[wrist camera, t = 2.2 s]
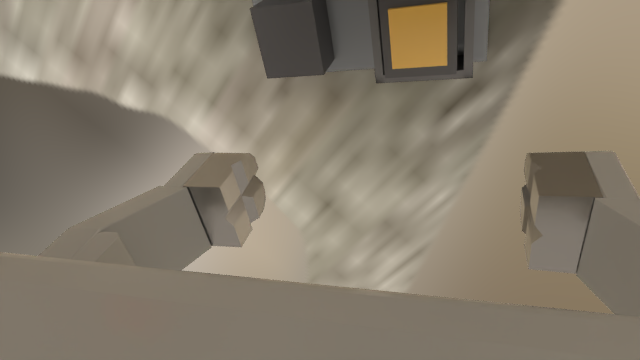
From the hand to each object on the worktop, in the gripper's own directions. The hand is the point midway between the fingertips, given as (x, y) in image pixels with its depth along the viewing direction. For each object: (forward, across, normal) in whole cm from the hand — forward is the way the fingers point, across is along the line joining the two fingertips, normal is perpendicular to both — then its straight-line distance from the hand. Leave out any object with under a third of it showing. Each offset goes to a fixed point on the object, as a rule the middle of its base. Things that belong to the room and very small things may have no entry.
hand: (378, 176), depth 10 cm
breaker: (+13, 0, 0) cm, 13 cm away
